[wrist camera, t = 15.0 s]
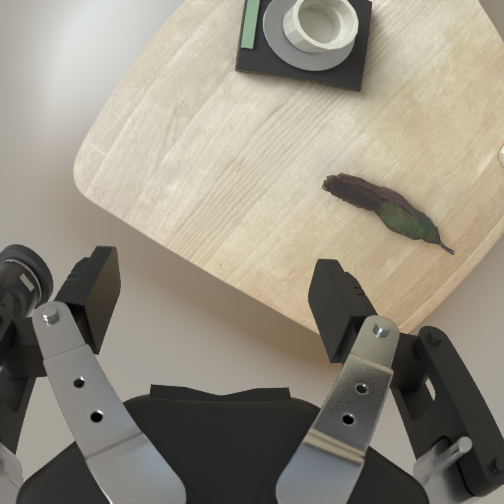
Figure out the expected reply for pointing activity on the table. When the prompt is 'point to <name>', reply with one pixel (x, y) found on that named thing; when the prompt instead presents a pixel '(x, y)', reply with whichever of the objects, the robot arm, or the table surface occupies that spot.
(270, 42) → the pan
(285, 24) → the white cup
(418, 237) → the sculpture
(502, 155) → the mug
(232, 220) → the table surface
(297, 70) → the scale
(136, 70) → the table surface
